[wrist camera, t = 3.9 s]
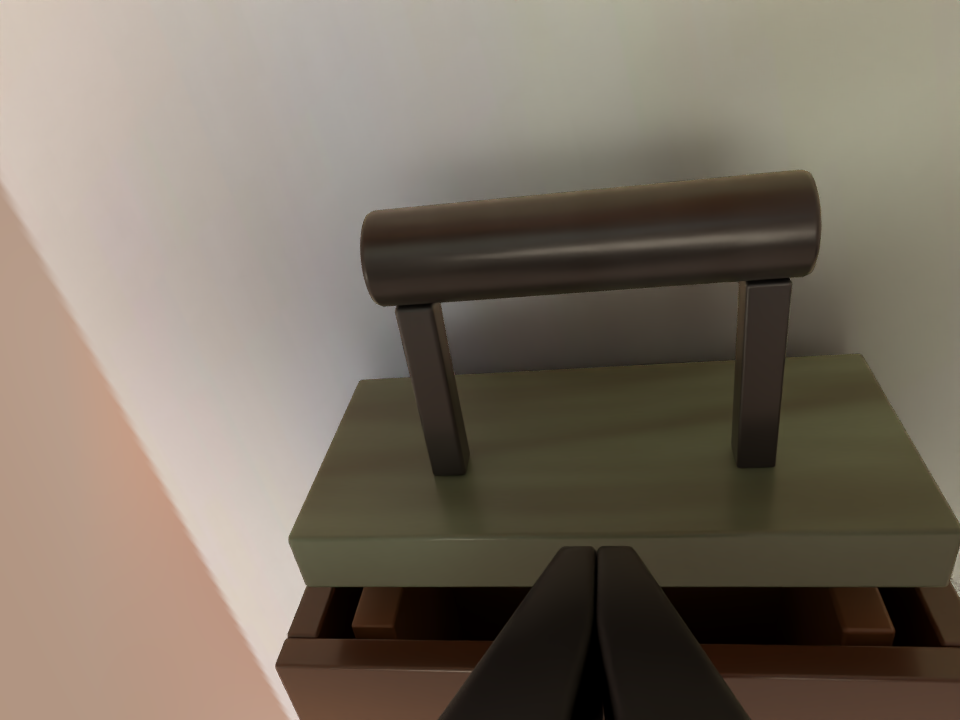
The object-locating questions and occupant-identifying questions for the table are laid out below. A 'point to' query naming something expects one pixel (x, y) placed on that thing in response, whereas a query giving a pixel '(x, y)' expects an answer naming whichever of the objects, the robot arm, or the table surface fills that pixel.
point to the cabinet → (744, 667)
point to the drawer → (621, 432)
